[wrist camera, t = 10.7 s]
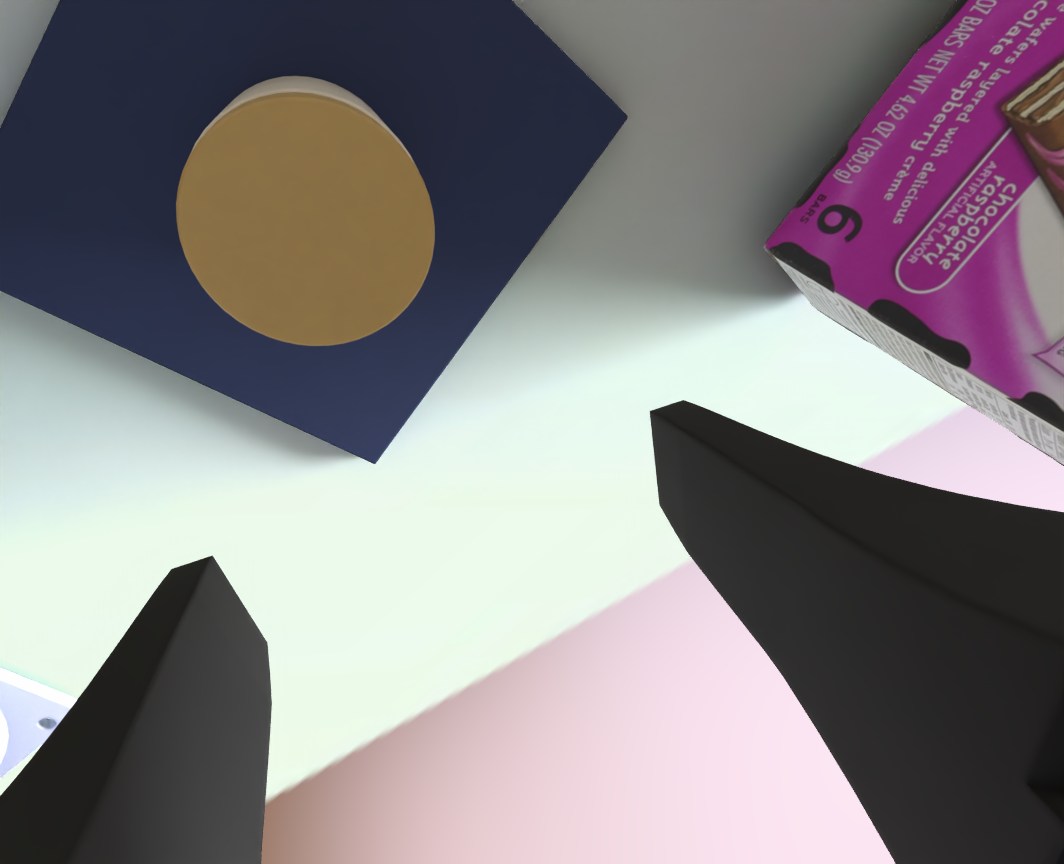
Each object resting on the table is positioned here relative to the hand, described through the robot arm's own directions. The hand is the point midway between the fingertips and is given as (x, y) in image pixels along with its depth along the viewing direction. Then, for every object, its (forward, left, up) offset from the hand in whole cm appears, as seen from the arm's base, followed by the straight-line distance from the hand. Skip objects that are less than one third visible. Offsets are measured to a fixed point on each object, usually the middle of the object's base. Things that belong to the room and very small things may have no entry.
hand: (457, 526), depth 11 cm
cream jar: (+1, +4, -9) cm, 10 cm away
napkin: (+1, +4, -9) cm, 10 cm away
